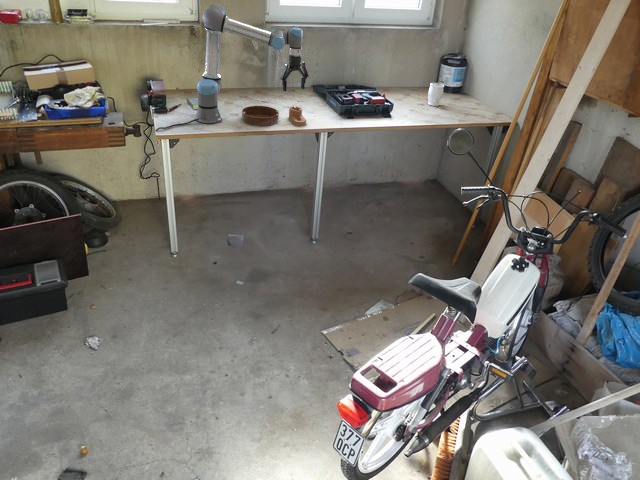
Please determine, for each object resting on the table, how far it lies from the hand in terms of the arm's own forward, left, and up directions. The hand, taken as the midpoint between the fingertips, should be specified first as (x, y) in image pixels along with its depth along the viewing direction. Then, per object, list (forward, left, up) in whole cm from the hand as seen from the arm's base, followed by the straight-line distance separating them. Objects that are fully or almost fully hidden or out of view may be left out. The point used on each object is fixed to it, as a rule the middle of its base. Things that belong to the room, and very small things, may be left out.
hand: (293, 89), depth 334 cm
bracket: (0, -6, -19) cm, 20 cm away
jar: (+116, -12, -19) cm, 118 cm away
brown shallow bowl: (-21, +5, -19) cm, 29 cm away
